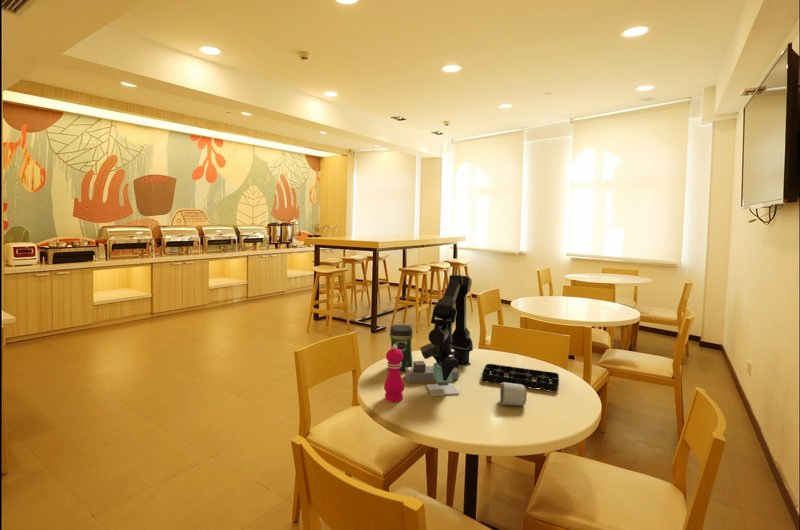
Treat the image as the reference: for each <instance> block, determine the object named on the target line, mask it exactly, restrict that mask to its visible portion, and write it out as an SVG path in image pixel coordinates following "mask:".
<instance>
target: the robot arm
mask: <svg viewBox="0 0 800 530" xmlns="http://www.w3.org/2000/svg"><path fill="white" fill-rule="evenodd" d="M448 278H449V279H448V284H447V286H446V290H445V292H444V294H443V296H442V298H439V299H438V300H437V302H436V303H435V305H434V306H433V310H432V315H431V319H430V324H433V325H434V327H433V328H432V330H431V331H430V332H429V333H428V341H429V342H430V343H427V344H424V345H423V346H420V347H419V349H420V352H421V355H422V356H423V358H424V359H425V360H427V359H430V358H431V357H432V358H433V359H434V360H435V363H439V364H438V365H439V366H440V367H441V368H442V374H443V380H444V381H447V379H448V377H449V375H450V373H451V372H452V370H453V368H456V369H457V368H459V366H465V365H466V366H467V365H468V366H469V365H471V362H470V352H472V351H473V350H474V345H473V340H472V338H471V332H470V331H469V329H468V327H467V294H469V291H470V290H471V288H472V284H473V280H472V278H471V277H470V276H469V275H461V274H450V275H449V277H448ZM453 325H455V326H454V327H455V329H454V330H453ZM452 350H453V351H452Z"/></svg>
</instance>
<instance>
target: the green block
mask: <svg viewBox="0 0 800 530" xmlns="http://www.w3.org/2000/svg"><path fill="white" fill-rule="evenodd" d="M438 364H439V363H436V362H433V366H434V367H433V377H434V378H435V380H436V381H435V382H436V384H438V385H439V386H444V385H448V383H452V382H453V380H452V372H451V373H450V375H449V377H448V379H447V381H444V380H443V374H442V368H441V367H440V366H439V365H438Z"/></svg>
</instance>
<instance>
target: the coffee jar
mask: <svg viewBox="0 0 800 530" xmlns="http://www.w3.org/2000/svg"><path fill="white" fill-rule="evenodd" d="M389 331H390V332H389V338H390V340H391V342H390V343H391V344H390V345H391V346H390V349H393V348H392V346H393V345H397V349H399V350H401V351H402V353H403V359H402V361H401V363H402V364H401V365H402V366H401V367H400V370H401V371H403V372H405V368H406V367H413V352H412V351H413V350H412V339H413V337H414V332H413V327H412V325H411V324H392V325H391V326H390V330H389ZM401 371H400V372H401Z"/></svg>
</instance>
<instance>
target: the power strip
mask: <svg viewBox="0 0 800 530" xmlns="http://www.w3.org/2000/svg"><path fill="white" fill-rule="evenodd" d="M412 363H413V366H412V367H406V368H405V371H404V376H405V379H406V378H407V379H406V380H408V381H407V383H408V382H409V383H408V384H411V383H410V382H415V383H428V382H427V381H431V382H436V380H435V378H434V377H433V367H434V365H429V366H428V365H427V364H426V362H425V361H424V360H415V361H413V360H412ZM454 379H458V380H459V370H458V369H457V368H453V370H452V381H455V380H454Z"/></svg>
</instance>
